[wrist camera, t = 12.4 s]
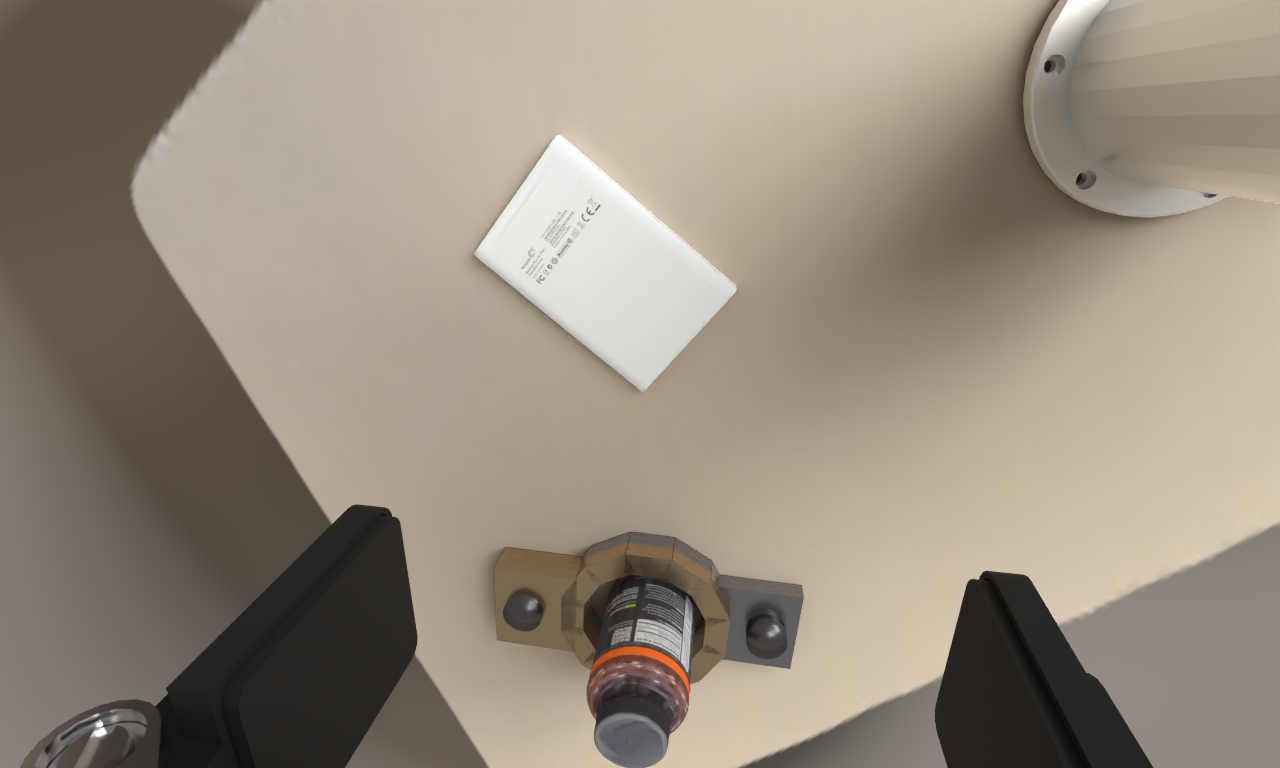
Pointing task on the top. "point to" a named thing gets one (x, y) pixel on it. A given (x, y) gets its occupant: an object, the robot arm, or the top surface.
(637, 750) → the supplement bottle
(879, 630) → the top surface
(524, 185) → the external hard drive
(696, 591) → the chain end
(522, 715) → the top surface
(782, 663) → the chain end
